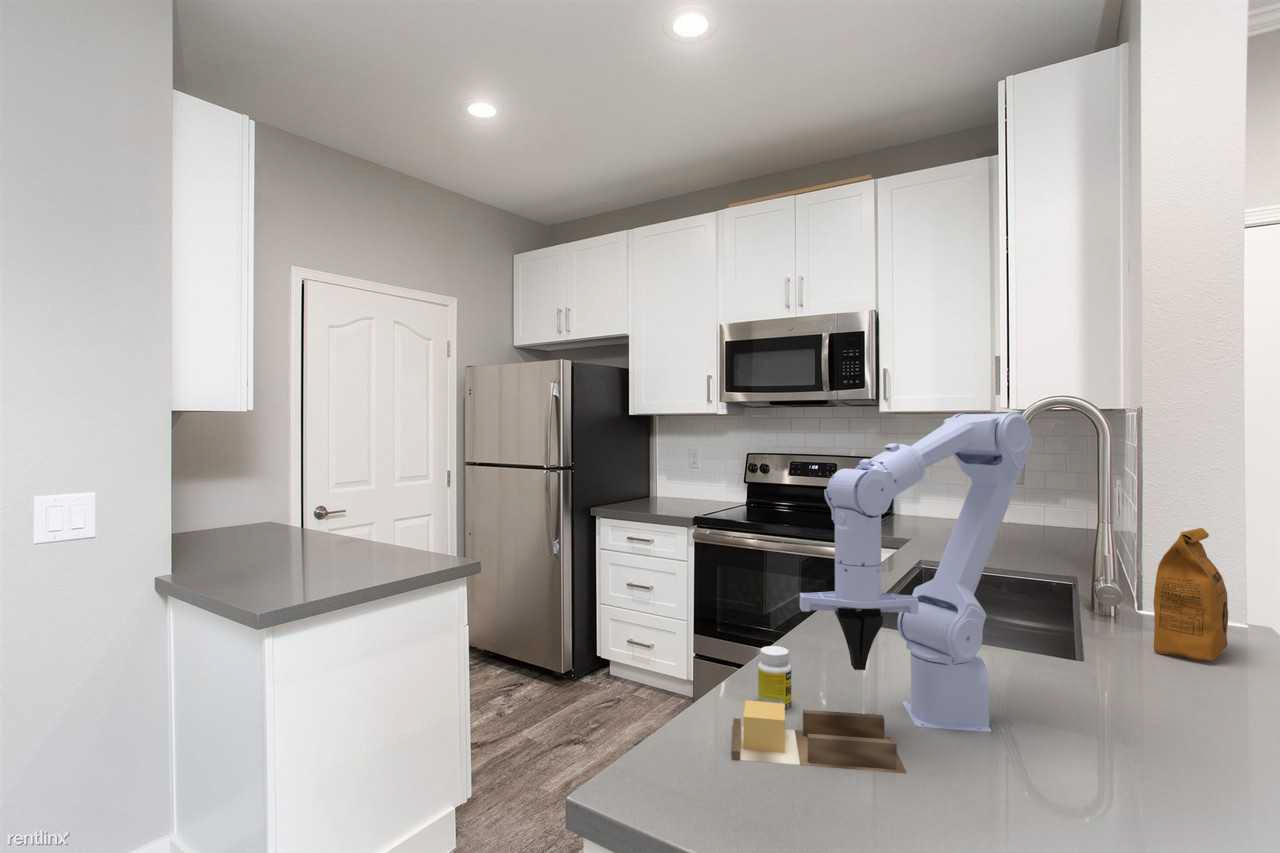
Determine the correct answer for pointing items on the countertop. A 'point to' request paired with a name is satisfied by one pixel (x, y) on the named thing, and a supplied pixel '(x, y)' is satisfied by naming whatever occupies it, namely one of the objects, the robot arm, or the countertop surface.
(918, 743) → the countertop surface
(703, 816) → the countertop surface
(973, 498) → the robot arm
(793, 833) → the countertop surface
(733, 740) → the walnut chute
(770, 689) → the supplement bottle
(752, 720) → the ochre block
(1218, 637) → the coffee package
